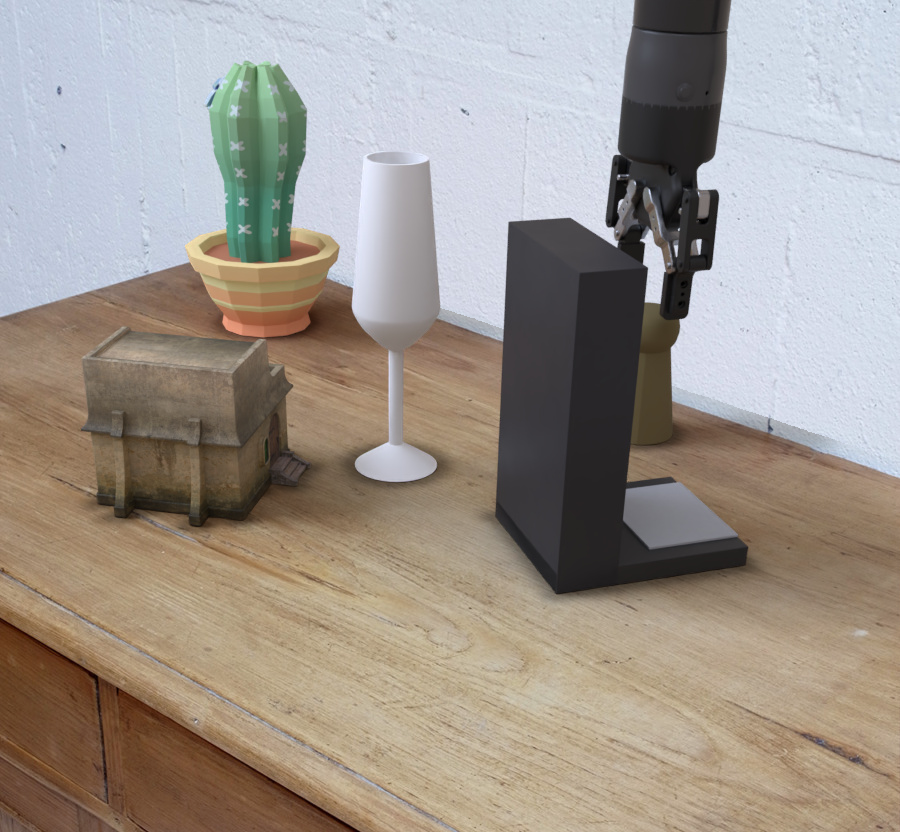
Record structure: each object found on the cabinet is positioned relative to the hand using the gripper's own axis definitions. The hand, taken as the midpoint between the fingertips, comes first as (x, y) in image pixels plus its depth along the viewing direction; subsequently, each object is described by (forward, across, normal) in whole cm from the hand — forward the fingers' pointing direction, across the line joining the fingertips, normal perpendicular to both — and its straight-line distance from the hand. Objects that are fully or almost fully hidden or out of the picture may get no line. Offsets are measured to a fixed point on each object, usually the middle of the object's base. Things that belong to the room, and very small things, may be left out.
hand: (649, 301), depth 107 cm
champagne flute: (+12, -1, +22) cm, 25 cm away
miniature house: (+12, 0, +37) cm, 39 cm away
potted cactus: (+12, +36, +25) cm, 45 cm away
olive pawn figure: (+12, 0, 0) cm, 12 cm away
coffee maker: (+11, -18, +11) cm, 24 cm away
